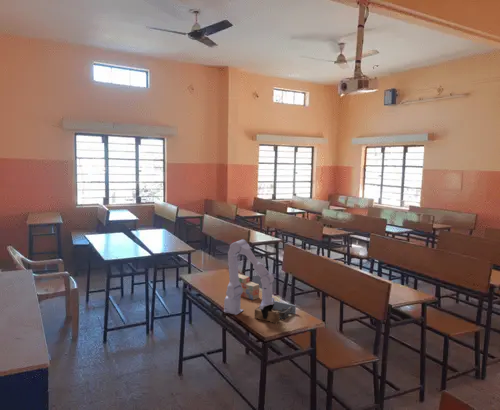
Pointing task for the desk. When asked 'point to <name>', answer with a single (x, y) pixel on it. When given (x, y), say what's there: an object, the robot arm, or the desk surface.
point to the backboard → (284, 306)
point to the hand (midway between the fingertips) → (266, 317)
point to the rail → (271, 316)
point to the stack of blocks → (248, 287)
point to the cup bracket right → (284, 313)
